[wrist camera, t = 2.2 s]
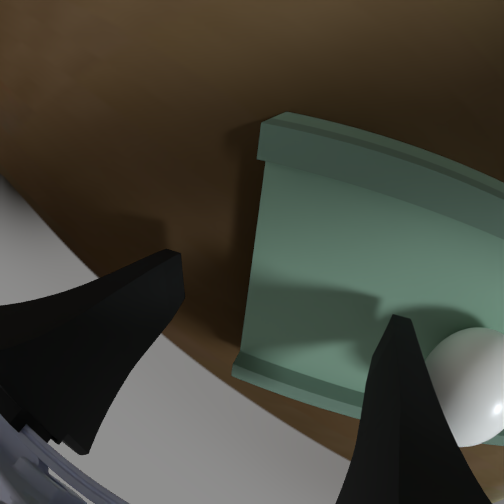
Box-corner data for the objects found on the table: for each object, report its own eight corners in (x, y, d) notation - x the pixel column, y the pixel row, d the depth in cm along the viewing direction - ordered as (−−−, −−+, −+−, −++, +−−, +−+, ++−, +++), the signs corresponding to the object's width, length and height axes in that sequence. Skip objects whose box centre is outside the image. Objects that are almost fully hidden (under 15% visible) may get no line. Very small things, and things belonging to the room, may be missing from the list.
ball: (532, 318, 8) (557, 411, 5) (477, 384, 10) (478, 468, 7) (448, 288, 9) (459, 393, 6) (399, 364, 11) (387, 455, 8)
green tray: (654, 283, 4) (677, 323, 2) (545, 418, 11) (549, 457, 8) (286, 111, 9) (250, 127, 7) (250, 341, 16) (225, 387, 13)
